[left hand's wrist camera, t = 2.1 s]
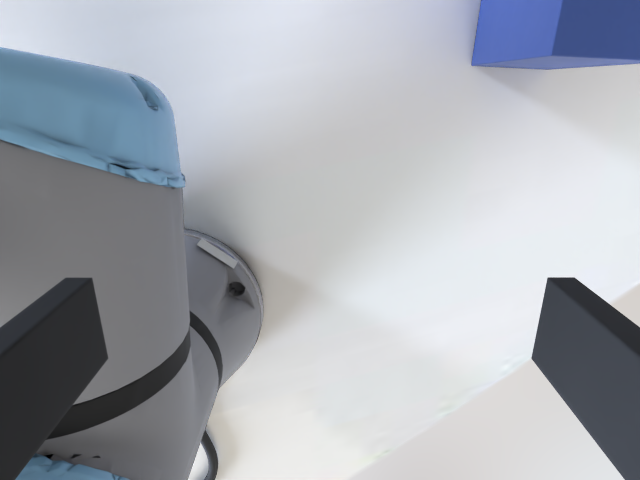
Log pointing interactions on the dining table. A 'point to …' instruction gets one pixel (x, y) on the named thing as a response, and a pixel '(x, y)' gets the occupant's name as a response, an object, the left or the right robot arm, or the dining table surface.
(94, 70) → the left robot arm
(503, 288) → the dining table surface
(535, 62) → the box
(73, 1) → the dining table surface
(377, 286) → the dining table surface
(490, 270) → the dining table surface
